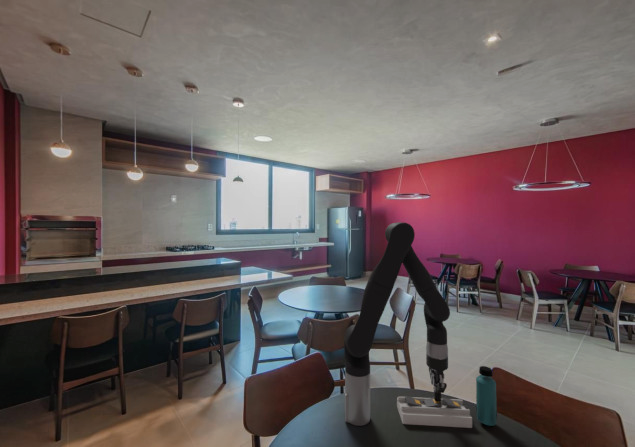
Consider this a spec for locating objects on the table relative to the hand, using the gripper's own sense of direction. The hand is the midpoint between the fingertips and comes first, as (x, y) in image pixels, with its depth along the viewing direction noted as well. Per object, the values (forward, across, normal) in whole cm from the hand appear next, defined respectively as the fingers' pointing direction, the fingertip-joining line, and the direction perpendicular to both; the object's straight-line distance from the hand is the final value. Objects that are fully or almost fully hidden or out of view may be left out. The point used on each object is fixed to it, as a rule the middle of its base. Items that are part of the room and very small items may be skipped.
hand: (437, 400), depth 106 cm
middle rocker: (+1, 0, -2) cm, 2 cm away
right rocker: (+1, 0, +5) cm, 5 cm away
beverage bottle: (+6, +2, +16) cm, 18 cm away
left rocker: (+1, 0, -9) cm, 9 cm away
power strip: (+6, 0, -2) cm, 6 cm away
